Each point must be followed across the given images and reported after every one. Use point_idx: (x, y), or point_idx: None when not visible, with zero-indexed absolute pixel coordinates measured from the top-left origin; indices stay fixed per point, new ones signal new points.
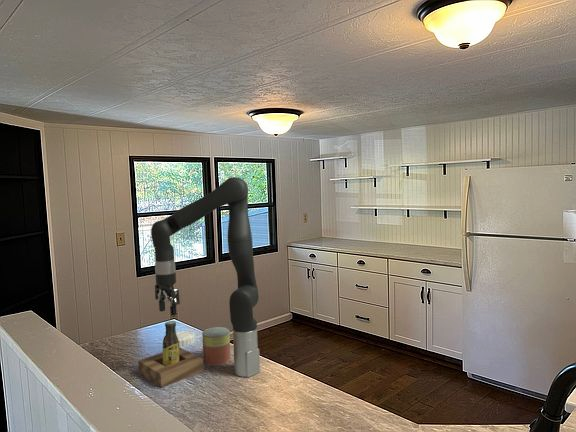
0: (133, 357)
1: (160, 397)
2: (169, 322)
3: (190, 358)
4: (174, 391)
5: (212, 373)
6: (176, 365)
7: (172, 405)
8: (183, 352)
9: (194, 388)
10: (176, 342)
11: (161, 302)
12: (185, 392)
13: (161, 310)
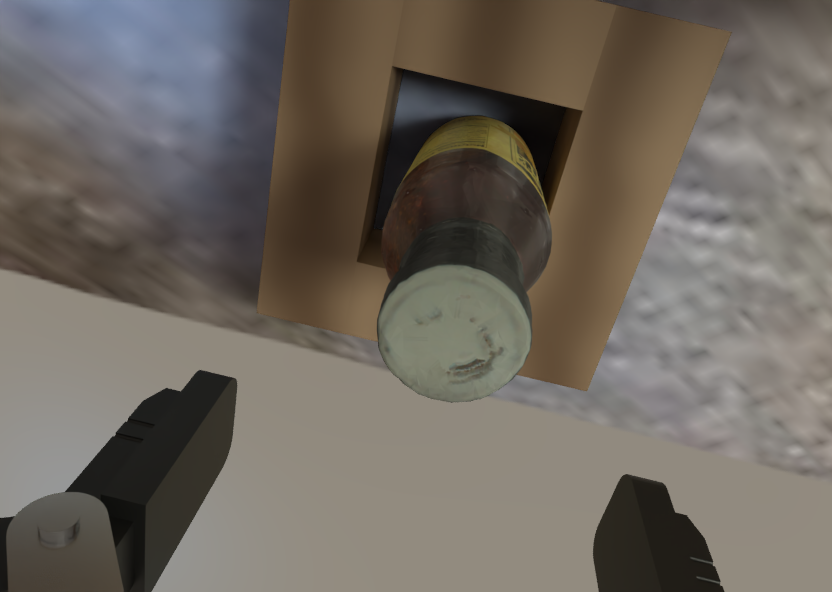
0: (21, 125)
1: (652, 416)
2: (443, 348)
3: (608, 88)
4: (684, 341)
5: (795, 17)
6: (590, 247)
7: (776, 444)
8: (447, 15)
9: (789, 263)
10: (548, 242)
11: (149, 566)
12: (761, 322)
13: (226, 446)
